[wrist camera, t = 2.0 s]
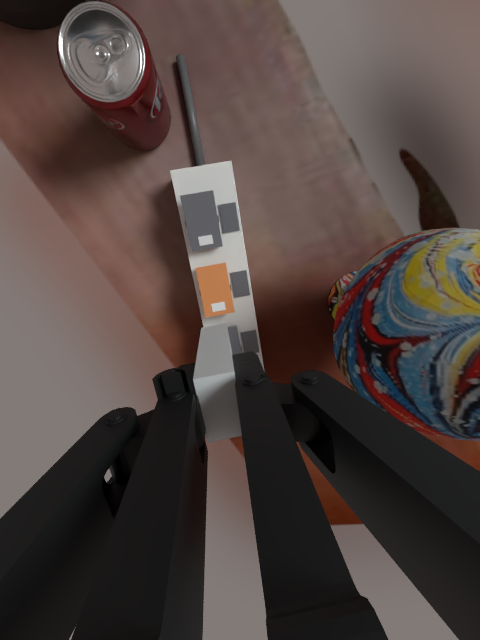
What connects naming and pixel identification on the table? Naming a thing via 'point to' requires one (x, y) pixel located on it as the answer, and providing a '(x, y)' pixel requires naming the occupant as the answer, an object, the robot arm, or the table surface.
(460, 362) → the vase
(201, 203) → the rocker
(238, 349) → the rocker
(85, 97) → the soda can
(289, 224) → the table surface
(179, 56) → the power strip
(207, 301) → the rocker middle
